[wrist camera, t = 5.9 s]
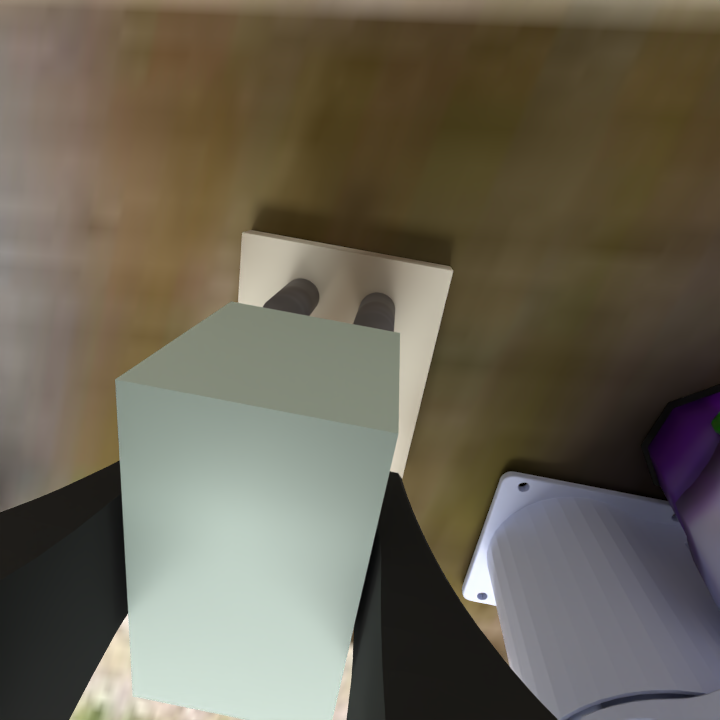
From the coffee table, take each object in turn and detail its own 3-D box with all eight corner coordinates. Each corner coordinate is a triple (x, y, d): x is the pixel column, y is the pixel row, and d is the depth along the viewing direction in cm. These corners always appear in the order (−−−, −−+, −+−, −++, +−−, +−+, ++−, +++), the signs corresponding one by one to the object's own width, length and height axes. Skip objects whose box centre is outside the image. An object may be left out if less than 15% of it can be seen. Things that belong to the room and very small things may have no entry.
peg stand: (450, 266, 17) (463, 288, 13) (400, 473, 21) (399, 535, 17) (250, 230, 17) (209, 241, 14) (236, 442, 21) (201, 496, 17)
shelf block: (399, 333, 11) (398, 433, 7) (352, 559, 14) (328, 736, 10) (231, 301, 11) (115, 379, 7) (219, 533, 14) (132, 695, 10)
